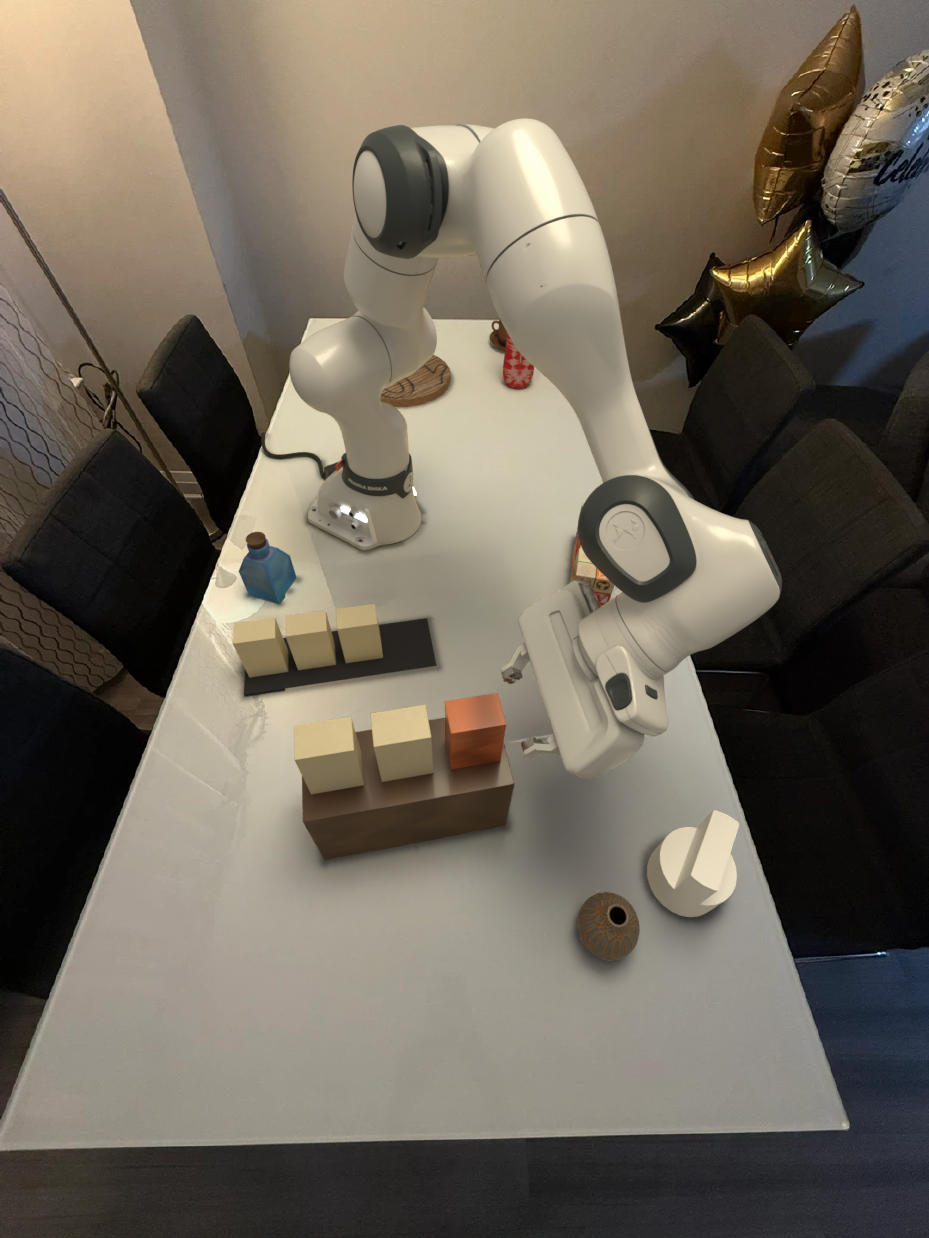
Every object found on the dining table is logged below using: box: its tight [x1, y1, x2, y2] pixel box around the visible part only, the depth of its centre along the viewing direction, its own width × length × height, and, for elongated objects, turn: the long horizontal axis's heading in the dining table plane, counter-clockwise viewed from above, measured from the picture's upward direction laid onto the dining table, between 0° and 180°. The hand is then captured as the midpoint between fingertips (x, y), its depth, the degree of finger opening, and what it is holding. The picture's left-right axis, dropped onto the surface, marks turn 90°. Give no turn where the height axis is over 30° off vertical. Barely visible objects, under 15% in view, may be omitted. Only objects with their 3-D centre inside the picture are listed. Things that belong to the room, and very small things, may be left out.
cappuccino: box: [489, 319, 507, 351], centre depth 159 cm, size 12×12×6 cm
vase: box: [576, 891, 641, 962], centre depth 66 cm, size 7×7×9 cm
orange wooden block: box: [443, 692, 507, 770], centre depth 66 cm, size 6×4×9 cm, turn 101°
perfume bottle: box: [238, 531, 298, 605], centre depth 99 cm, size 6×6×12 cm
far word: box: [232, 603, 437, 697], centre depth 91 cm, size 30×10×10 cm, turn 101°
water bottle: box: [502, 333, 535, 390], centre depth 140 cm, size 12×8×25 cm, turn 177°
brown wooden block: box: [293, 704, 515, 861], centre depth 70 cm, size 24×10×23 cm, turn 101°
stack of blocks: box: [569, 502, 616, 606], centre depth 101 cm, size 21×6×12 cm, turn 169°
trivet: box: [381, 354, 451, 408], centre depth 148 cm, size 25×25×2 cm
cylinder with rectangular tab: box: [646, 809, 741, 918], centre depth 69 cm, size 9×9×12 cm
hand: (514, 713), depth 64 cm, fingers open, 8 cm apart
